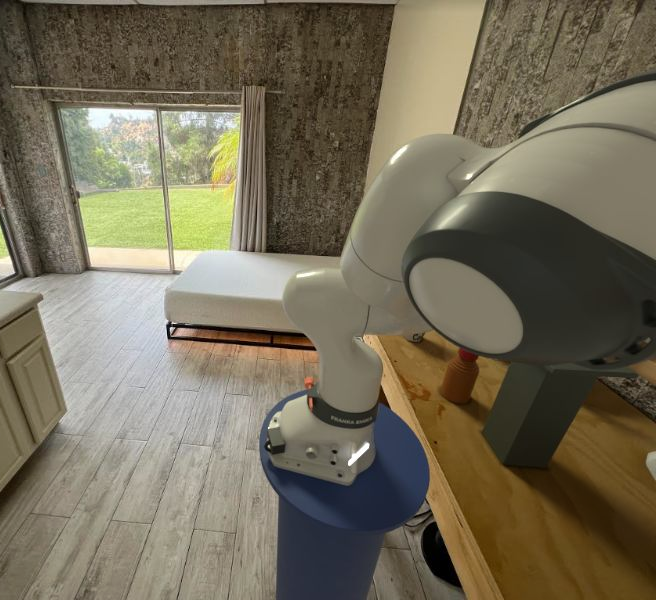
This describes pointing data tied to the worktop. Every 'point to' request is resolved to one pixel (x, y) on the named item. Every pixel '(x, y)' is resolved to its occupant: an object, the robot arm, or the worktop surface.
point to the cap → (467, 355)
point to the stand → (539, 409)
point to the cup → (415, 337)
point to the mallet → (642, 367)
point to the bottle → (459, 380)
